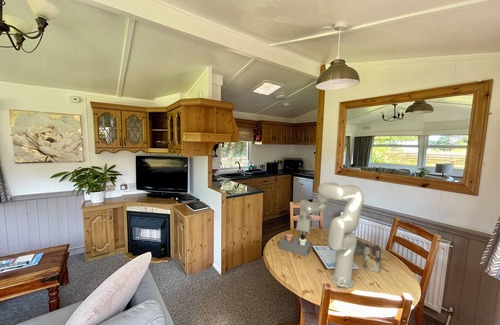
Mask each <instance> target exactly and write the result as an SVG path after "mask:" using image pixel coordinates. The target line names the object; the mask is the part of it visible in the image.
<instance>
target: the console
mask: <svg viewBox="0 0 500 325" xmlns="http://www.w3.org/2000/svg"><path fill="white" fill-rule="evenodd" d="M299 238H300V237H297V236H293V237H292V242H290V241H286V234H284V235H283V237H282V238H281V239H279V243H278V249H280V250H283V251H286V252H290V253H293V254H297V255H300V256H303V257H305V258H307V257H308V255H309V254H310V252H311V250H312V245H313V241H311V240H308V239H306V240H307V241H306V243H305V246H304V245H300V241H299Z"/></svg>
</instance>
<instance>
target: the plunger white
mask: <svg viewBox="0 0 500 325" xmlns="http://www.w3.org/2000/svg"><path fill="white" fill-rule="evenodd" d="M298 238H299V241H300V245H304V246H305V243H306V241H307V240H308V239H307V238H305V239H304V240H301V237H298Z"/></svg>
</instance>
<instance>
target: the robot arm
mask: <svg viewBox="0 0 500 325" xmlns="http://www.w3.org/2000/svg"><path fill="white" fill-rule="evenodd" d="M317 187H318V188H317V191H318V193H317V196H316V198H317V199H318V201H317V202H311V201H309V200H307V199H301V200H300V202H299V214H298V218H297V221H296V229H295V230H296V231H297V232H299V234H300V238H301V240H304V239H306V235H307V234H311V228H312V227H311V226H312V222H311V219H312V216H311V215H312V214H313V215H314V214H319V213H322V212H324V211H325V210H326V209H327V208H328V207H329V202H331V200H335V201H345V200H346V201H347V200H348V201H347V203H346V204H345V206H344V208H343V214H342V215H339V216H336V217H334V218H333V219H332V220H331V222H330V225H329V230H328V237H327V243H328V245H329V247H330V249H331V250H333V251H336V256H335V263H334V264H335V267H334V273H333V274H332V275H331V281H332V282H333V283H334V284H335V285H336V286H338V287H341V288H345V289H349V288H353V287H354V285H355V281H354V279H353V278H352V277H353V268H354V267H353V266H354V256H355V255H354V251H355V248H356V244H357V240H358V238H357V235H355V233H354V231H356V230H357V229H358V226H359V221H360V218H361V217H360V216H361V212H362V209H363V204H364V202H365V197H364V192H363V191H362V189H361V188H360V187H359V186H357V185H355V184H343V185H341V184H339V183H338V182H333V181H332V182H322V183H320V184H319V186H317Z"/></svg>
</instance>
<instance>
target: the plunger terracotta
mask: <svg viewBox="0 0 500 325" xmlns="http://www.w3.org/2000/svg"><path fill="white" fill-rule="evenodd" d="M285 235H286V241H290V242H292V237H294V234H293V233H290V232H286V233H285Z"/></svg>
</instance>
